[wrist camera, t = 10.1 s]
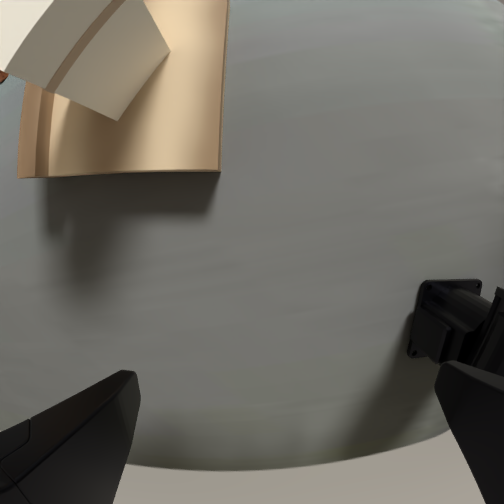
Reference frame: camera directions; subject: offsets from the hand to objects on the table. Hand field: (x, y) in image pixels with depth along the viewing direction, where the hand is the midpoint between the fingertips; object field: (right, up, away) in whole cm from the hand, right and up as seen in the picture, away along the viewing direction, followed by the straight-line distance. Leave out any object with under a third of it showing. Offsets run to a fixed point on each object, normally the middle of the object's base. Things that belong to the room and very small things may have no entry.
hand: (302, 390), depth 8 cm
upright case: (-9, +14, +7) cm, 18 cm away
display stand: (-9, +15, +10) cm, 20 cm away
